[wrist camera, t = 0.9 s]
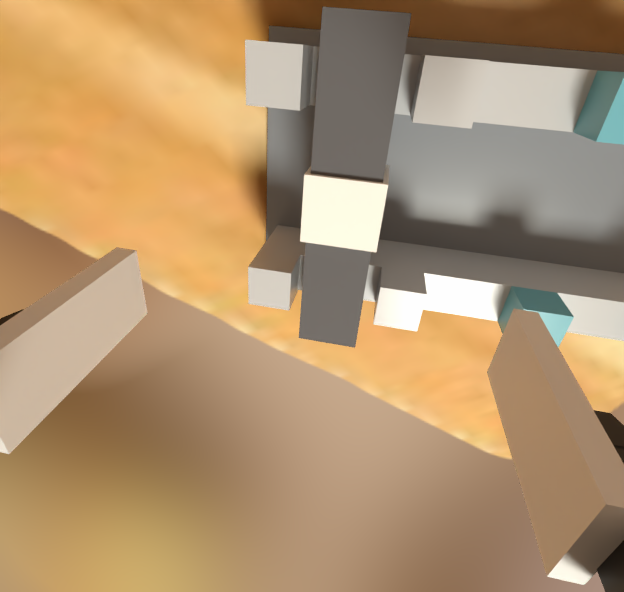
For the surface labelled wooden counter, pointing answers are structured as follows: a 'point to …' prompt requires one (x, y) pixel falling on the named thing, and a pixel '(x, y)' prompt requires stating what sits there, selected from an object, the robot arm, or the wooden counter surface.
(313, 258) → the grey banded pillar
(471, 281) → the grey peg rack
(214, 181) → the wooden counter surface
